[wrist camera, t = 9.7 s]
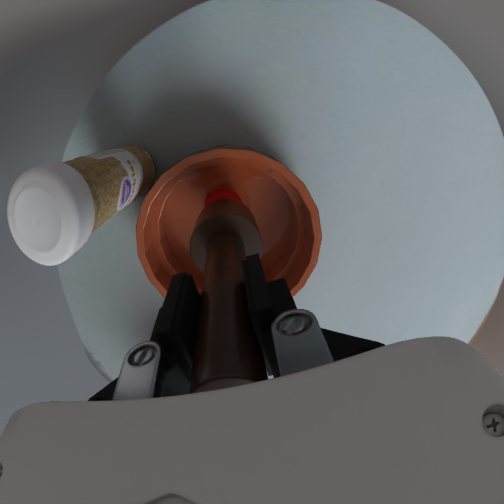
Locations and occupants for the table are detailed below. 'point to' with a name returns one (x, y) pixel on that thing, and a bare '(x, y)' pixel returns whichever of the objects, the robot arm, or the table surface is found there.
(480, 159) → the table surface
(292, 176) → the bowl
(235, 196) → the berry
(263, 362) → the brown wooden peg
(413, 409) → the robot arm
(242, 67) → the table surface
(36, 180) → the sprinkles bottle
